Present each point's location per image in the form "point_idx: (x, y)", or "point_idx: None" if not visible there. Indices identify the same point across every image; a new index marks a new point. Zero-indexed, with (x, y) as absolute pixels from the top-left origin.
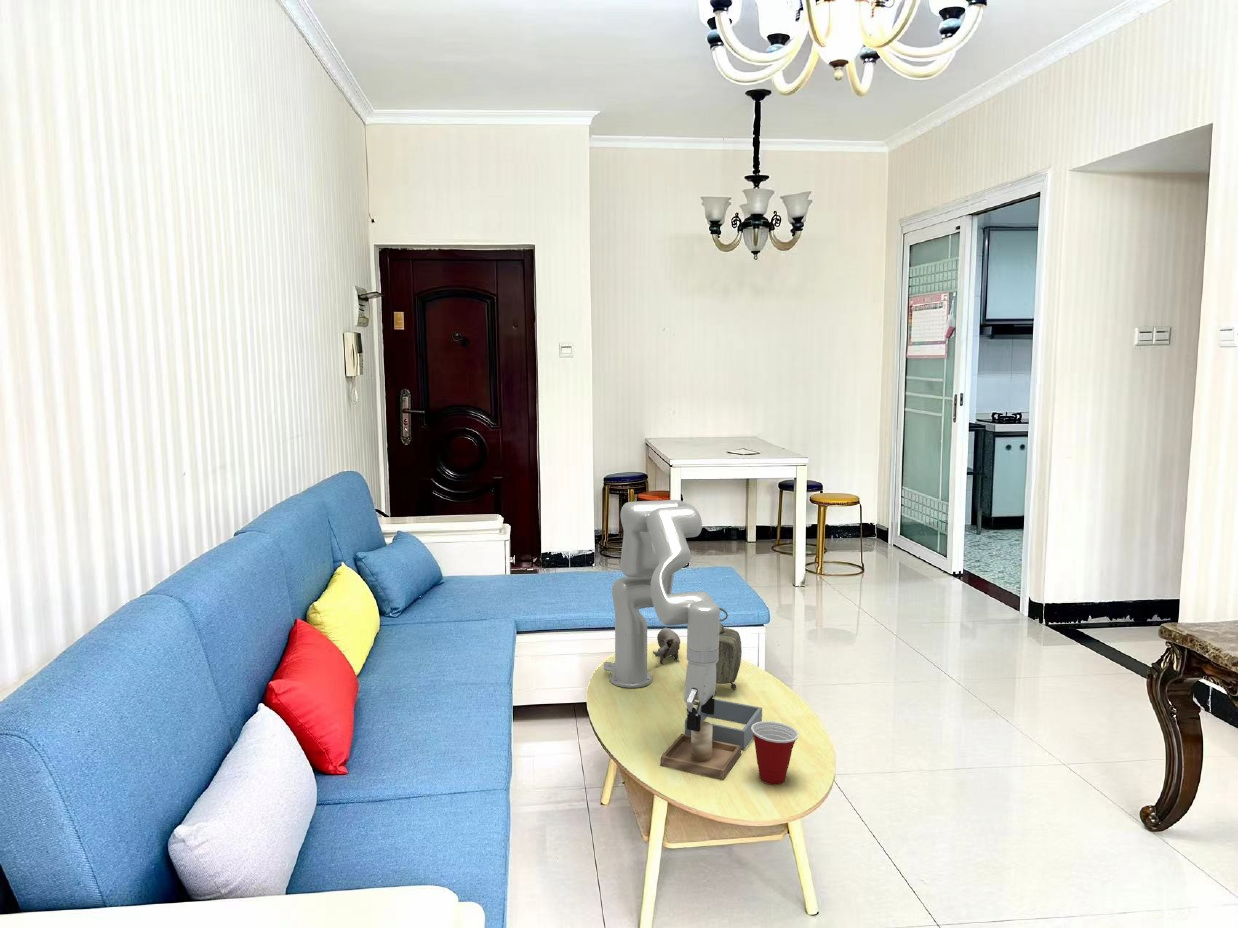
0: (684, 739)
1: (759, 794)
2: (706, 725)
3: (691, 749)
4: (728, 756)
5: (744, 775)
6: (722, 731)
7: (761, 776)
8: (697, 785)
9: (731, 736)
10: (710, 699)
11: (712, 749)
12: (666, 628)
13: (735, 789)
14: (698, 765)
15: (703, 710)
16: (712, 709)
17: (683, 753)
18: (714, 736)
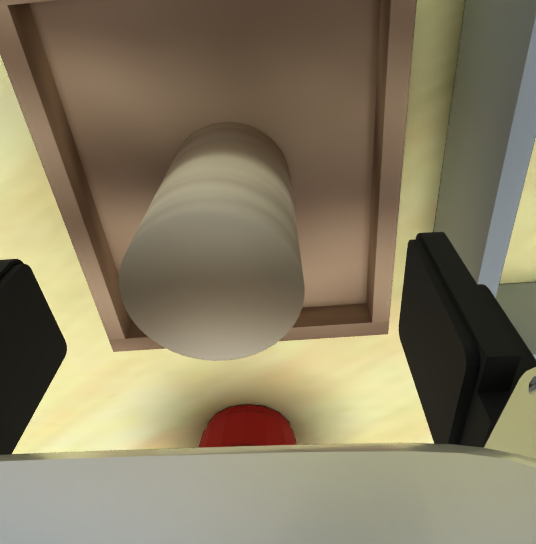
0: None
1: (126, 431)
2: (234, 319)
3: (179, 154)
4: (309, 287)
5: (214, 365)
6: (470, 246)
7: (207, 430)
8: (8, 257)
9: None
10: (455, 442)
11: (347, 196)
12: None
13: (98, 373)
14: (75, 246)
15: (413, 269)
16: (411, 368)
17: (212, 64)
18: (461, 178)
